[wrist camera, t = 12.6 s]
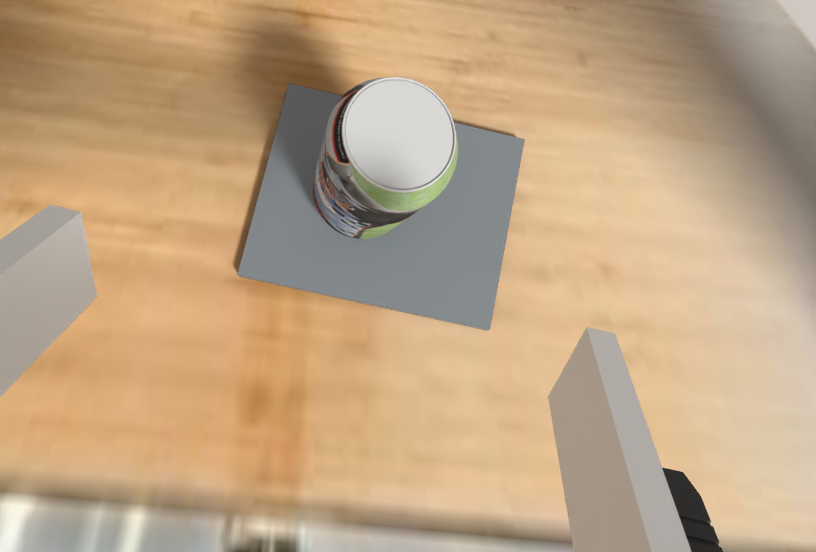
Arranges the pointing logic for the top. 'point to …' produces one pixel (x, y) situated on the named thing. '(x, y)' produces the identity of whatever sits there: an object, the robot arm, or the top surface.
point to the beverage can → (383, 156)
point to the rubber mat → (399, 248)
